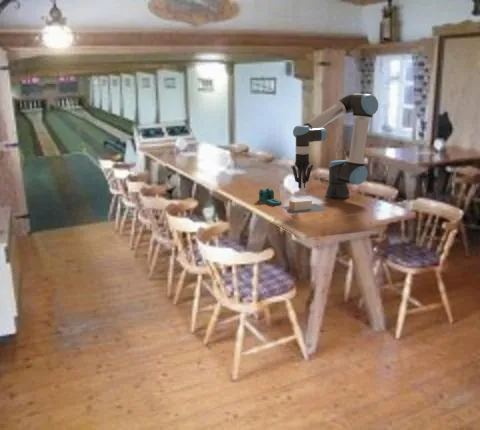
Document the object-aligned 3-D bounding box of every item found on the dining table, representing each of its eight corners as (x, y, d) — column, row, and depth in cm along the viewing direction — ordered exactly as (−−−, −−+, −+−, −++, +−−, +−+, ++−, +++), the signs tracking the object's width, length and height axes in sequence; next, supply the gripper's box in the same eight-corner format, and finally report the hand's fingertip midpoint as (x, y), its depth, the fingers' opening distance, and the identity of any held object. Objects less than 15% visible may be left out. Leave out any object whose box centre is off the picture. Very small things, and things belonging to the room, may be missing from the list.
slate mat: (315, 204, 316) (315, 203, 316) (327, 211, 301) (327, 210, 301) (281, 207, 310) (281, 206, 310) (292, 214, 295) (292, 213, 295)
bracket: (259, 200, 328) (259, 188, 326) (268, 199, 331) (268, 187, 328) (273, 207, 312) (273, 194, 310) (283, 205, 315) (283, 192, 313)
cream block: (308, 198, 307) (289, 200, 304) (311, 200, 302) (292, 202, 299) (308, 206, 308) (289, 208, 305) (311, 209, 304) (292, 210, 301)
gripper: (310, 151, 301) (309, 191, 307) (289, 153, 298) (288, 193, 304) (315, 153, 294) (314, 194, 301) (294, 155, 291) (293, 196, 297)
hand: (301, 193), depth 302 cm, fingers closed
